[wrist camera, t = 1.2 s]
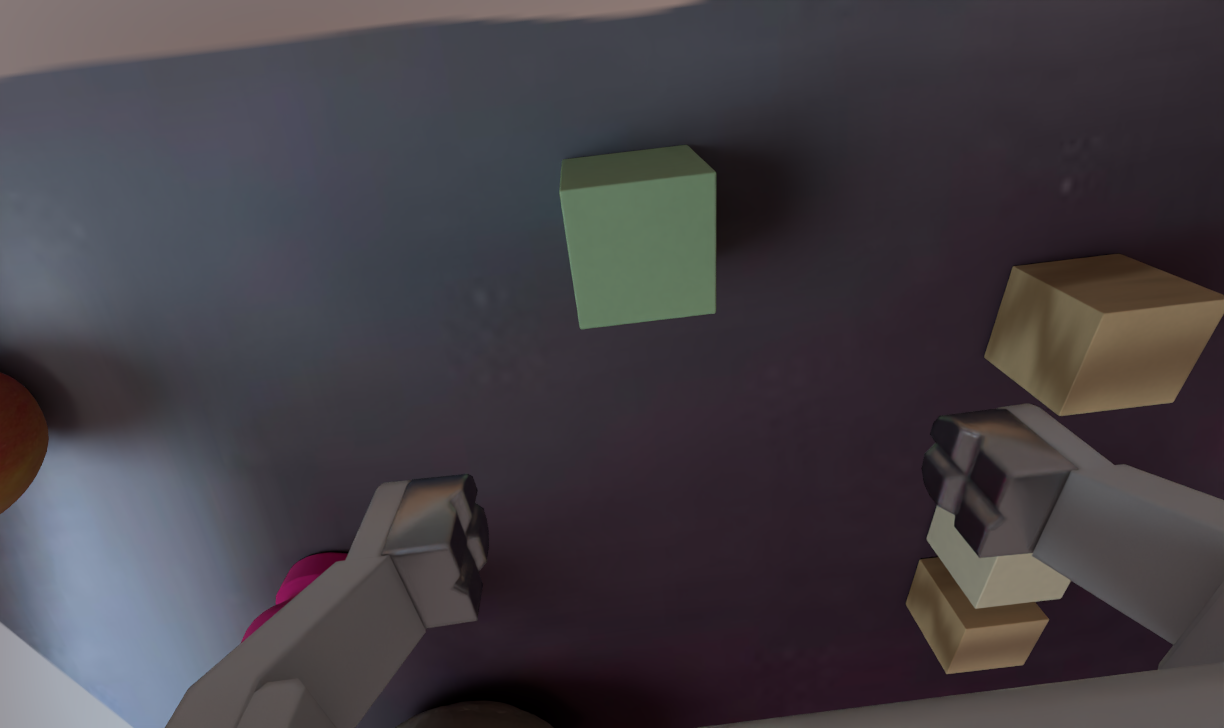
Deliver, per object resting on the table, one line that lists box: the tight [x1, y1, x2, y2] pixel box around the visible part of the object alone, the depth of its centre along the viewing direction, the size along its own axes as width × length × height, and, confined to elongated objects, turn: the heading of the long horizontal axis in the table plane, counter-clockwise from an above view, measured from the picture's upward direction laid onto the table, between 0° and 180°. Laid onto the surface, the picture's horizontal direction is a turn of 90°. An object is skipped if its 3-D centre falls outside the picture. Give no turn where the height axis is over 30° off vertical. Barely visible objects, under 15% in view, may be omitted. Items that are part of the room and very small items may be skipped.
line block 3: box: [984, 254, 1224, 416], centre depth 24 cm, size 5×5×5 cm
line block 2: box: [906, 557, 1049, 674], centre depth 35 cm, size 5×5×5 cm
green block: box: [559, 145, 716, 329], centre depth 20 cm, size 5×5×5 cm
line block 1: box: [927, 506, 1071, 609], centre depth 31 cm, size 5×5×5 cm
